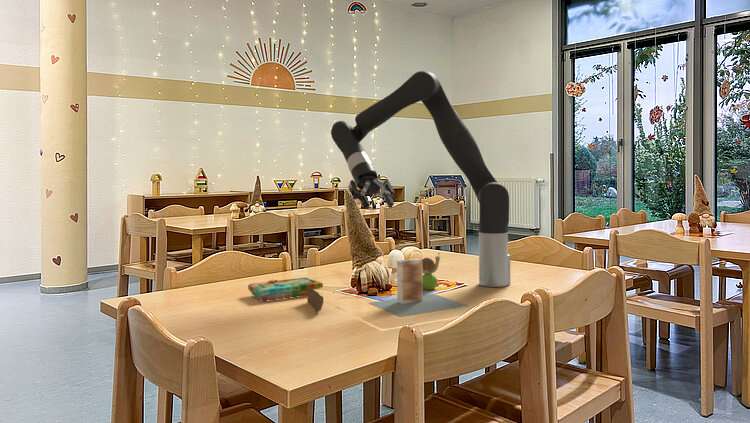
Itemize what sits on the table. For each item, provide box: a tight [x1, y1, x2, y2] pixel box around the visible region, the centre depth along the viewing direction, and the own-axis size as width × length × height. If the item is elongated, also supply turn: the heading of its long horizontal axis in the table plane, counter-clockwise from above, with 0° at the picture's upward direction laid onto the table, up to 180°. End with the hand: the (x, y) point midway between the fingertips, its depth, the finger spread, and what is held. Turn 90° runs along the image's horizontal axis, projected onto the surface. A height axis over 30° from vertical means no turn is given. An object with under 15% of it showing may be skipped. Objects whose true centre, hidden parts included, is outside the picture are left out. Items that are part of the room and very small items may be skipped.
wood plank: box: [306, 287, 324, 316], centre depth 161 cm, size 15×2×5 cm, turn 22°
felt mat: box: [368, 293, 470, 318], centre depth 162 cm, size 22×18×1 cm
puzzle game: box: [247, 277, 324, 302], centre depth 179 cm, size 12×5×20 cm
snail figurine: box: [421, 252, 441, 291], centre depth 181 cm, size 5×6×12 cm
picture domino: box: [396, 257, 424, 304], centre depth 165 cm, size 7×3×12 cm, turn 118°
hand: (379, 206), depth 178 cm, fingers open, 8 cm apart
